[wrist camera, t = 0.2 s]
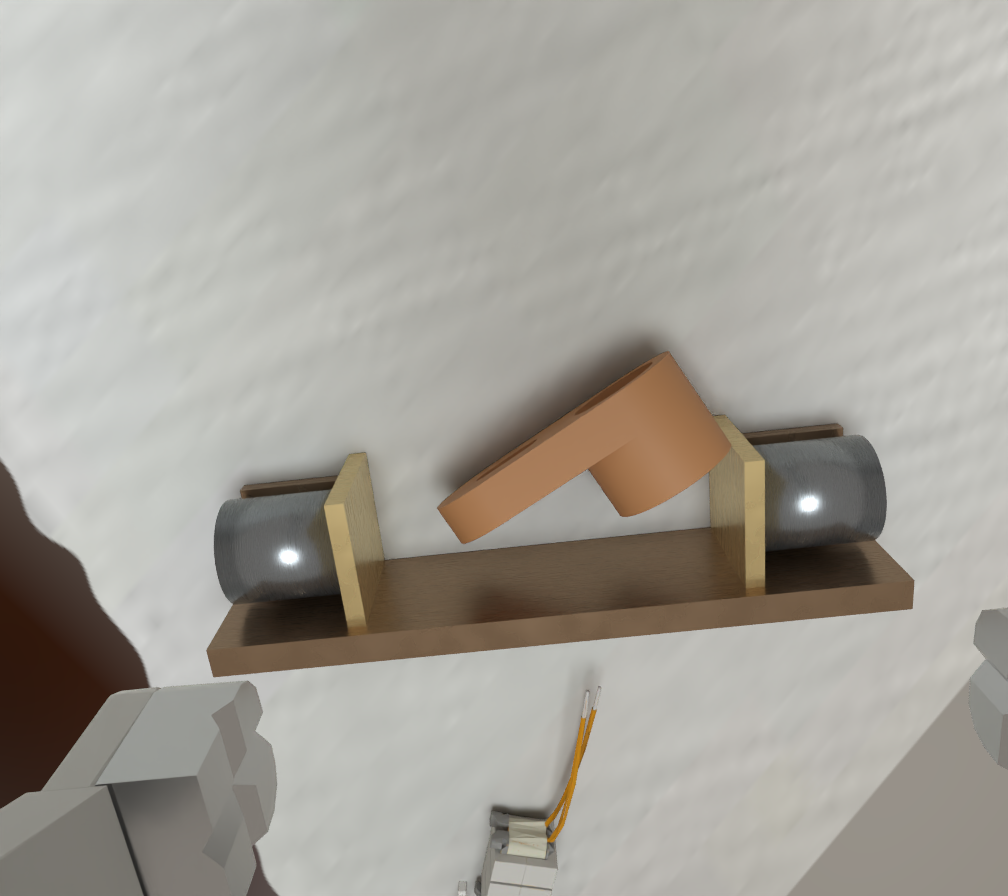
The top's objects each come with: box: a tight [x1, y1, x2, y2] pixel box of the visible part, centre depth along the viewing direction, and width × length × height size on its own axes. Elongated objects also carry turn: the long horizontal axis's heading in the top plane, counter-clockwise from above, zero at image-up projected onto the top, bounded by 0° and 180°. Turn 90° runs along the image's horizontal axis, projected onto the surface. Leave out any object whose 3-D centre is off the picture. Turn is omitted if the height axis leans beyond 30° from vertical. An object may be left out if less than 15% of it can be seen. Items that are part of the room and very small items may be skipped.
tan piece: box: [437, 351, 731, 544], centre depth 53 cm, size 18×8×7 cm
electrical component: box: [475, 686, 601, 896], centre depth 65 cm, size 24×6×5 cm, turn 170°
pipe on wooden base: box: [206, 415, 914, 677], centre depth 55 cm, size 10×44×10 cm, turn 96°
